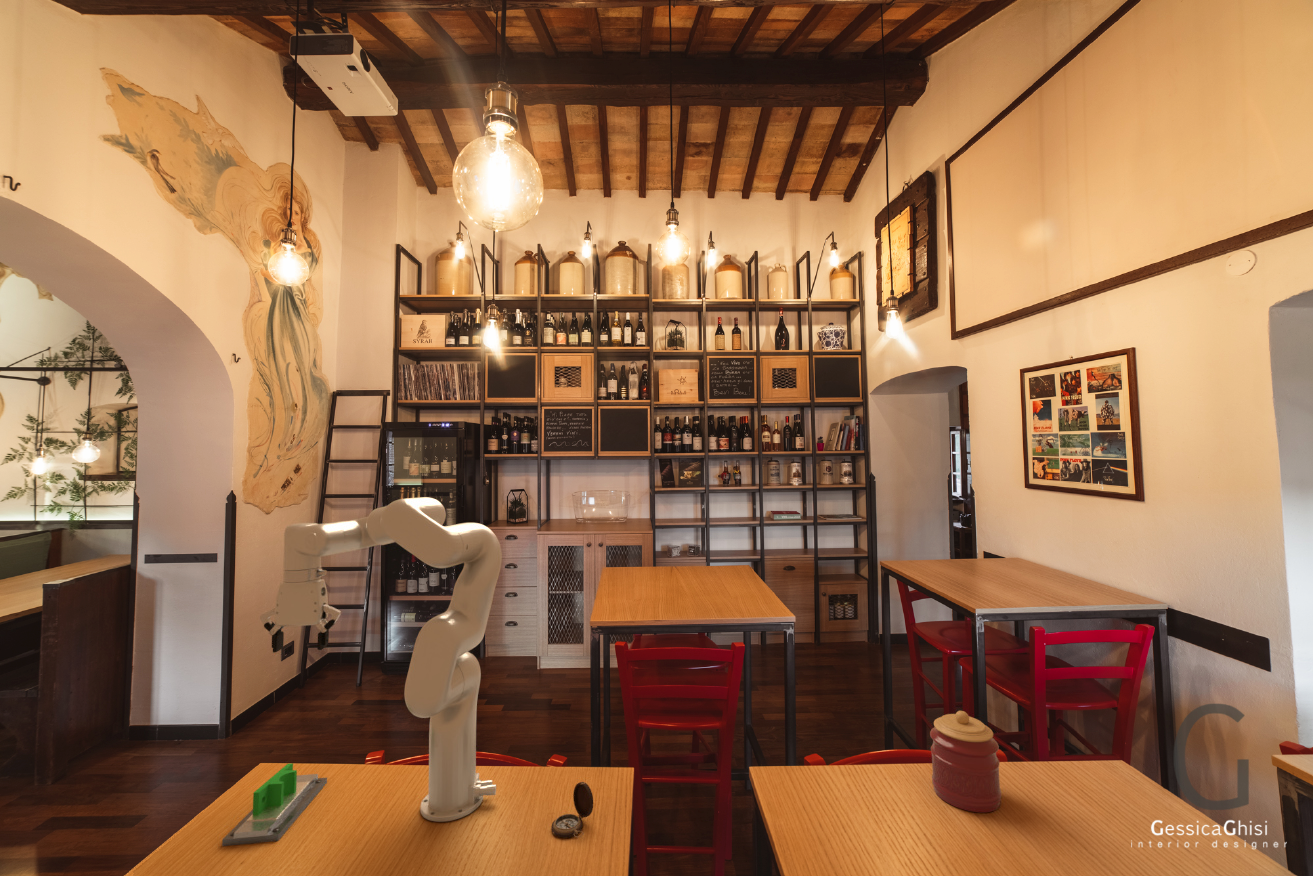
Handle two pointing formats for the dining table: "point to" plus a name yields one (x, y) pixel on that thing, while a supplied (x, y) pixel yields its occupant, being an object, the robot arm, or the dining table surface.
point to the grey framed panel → (276, 815)
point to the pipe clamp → (275, 789)
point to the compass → (570, 822)
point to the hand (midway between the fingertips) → (300, 649)
